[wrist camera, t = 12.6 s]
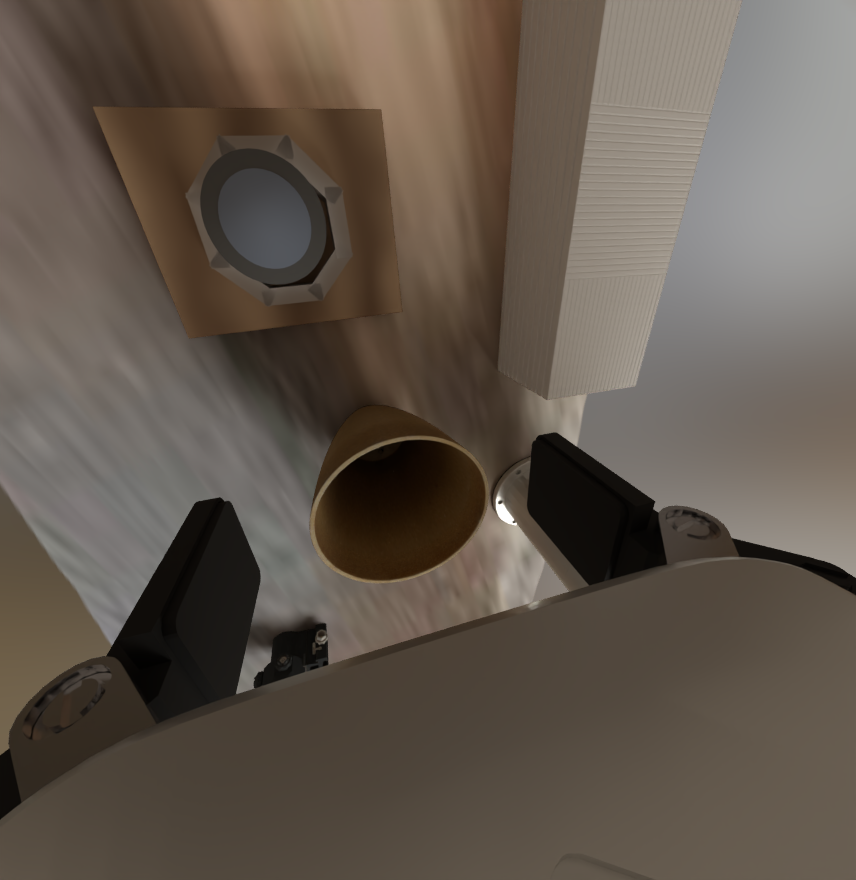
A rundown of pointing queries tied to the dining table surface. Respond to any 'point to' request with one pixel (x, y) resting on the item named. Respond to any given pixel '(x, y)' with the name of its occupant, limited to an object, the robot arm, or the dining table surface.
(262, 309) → the wooden block
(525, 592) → the dining table surface
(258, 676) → the scope
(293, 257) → the lens
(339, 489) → the plant pot
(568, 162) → the stack of papers
